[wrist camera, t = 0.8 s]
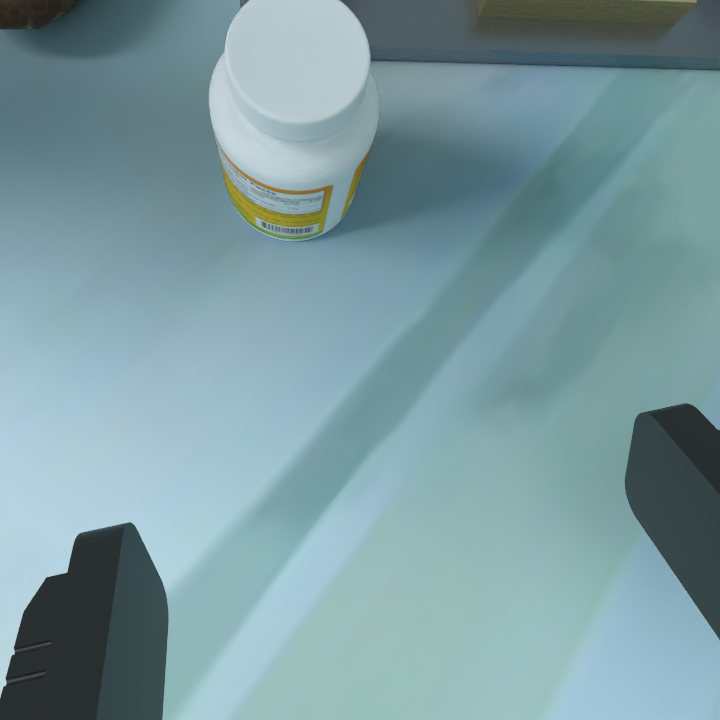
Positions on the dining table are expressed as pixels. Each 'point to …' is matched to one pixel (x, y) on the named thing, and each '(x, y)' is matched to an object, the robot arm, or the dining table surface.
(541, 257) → the dining table surface
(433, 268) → the dining table surface
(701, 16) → the shaft bench
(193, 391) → the dining table surface
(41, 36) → the dining table surface
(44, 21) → the brown rough round lump
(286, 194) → the supplement bottle
